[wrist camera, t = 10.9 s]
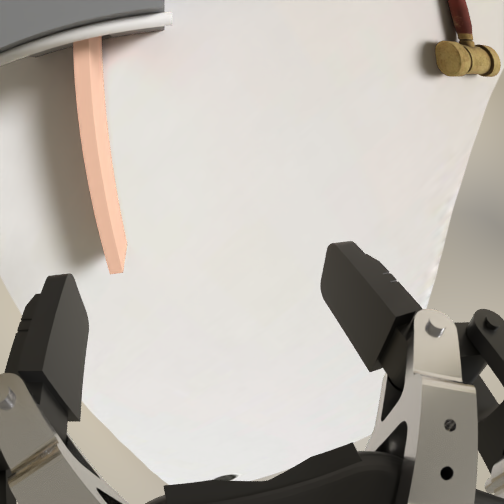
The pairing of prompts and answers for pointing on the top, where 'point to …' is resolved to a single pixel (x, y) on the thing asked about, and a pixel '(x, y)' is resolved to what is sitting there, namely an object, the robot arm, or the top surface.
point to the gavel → (465, 48)
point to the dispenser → (72, 23)
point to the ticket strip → (98, 149)
